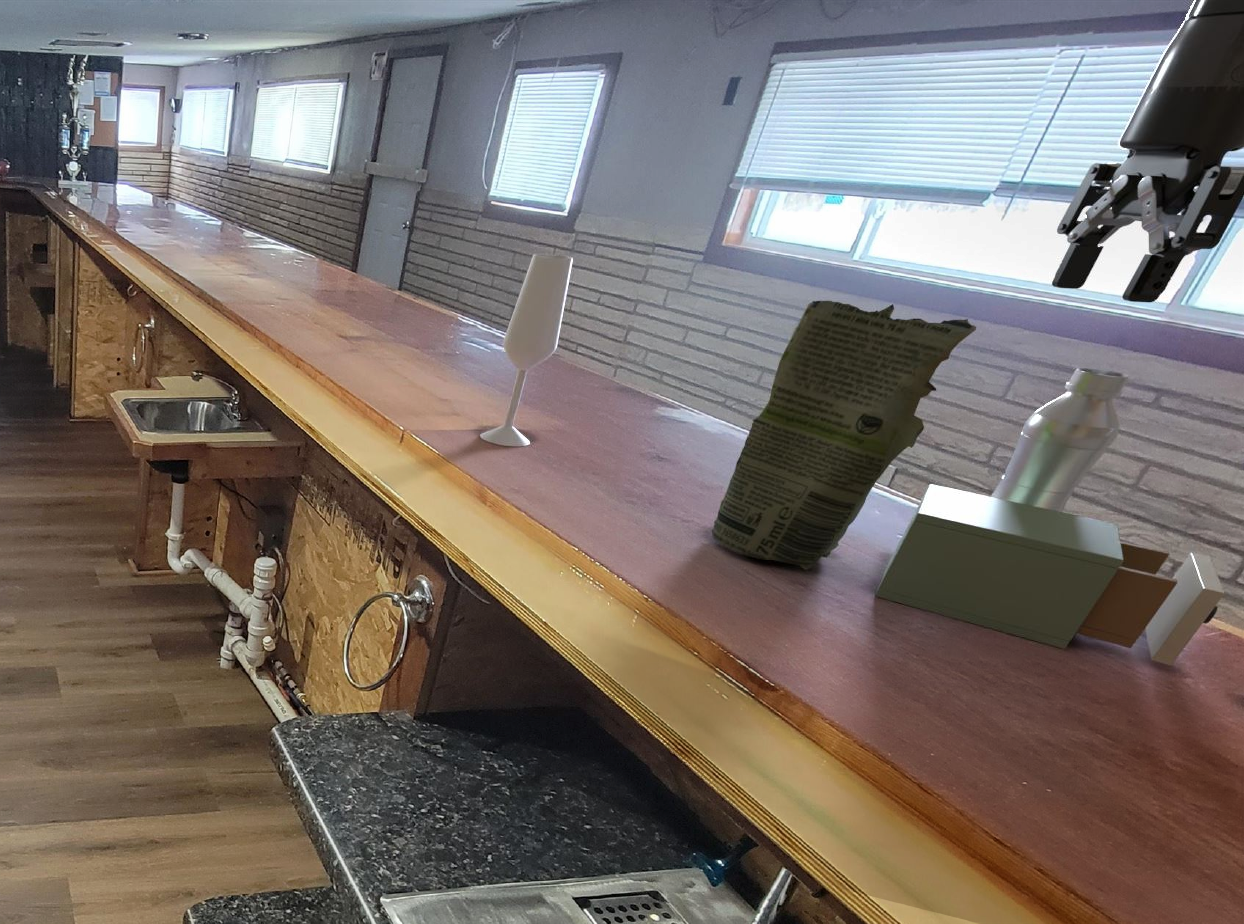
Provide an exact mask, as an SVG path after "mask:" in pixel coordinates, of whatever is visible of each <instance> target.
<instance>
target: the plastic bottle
mask: <svg viewBox="0 0 1244 924" xmlns="http://www.w3.org/2000/svg"><path fill="white" fill-rule="evenodd" d="M1129 378H1130V375H1128V374H1126V373H1122V372H1117V371H1112V370H1106V369H1099V368H1092V367H1091V368H1089V367H1077V368H1076V369H1075V370H1074V372H1073V374H1072V375H1071V377H1070V379H1069V381H1067V382H1066V384H1065V385H1064V389H1065V390H1066V391H1065V393H1064V394H1062V395H1061V396H1059V397H1057V398H1056V399H1053V400H1052V401H1050V402H1048V403H1046V404H1045V405H1044V406H1042V407H1040V408H1038V409H1037V410H1036V411H1035V412H1033V414H1031V416H1030V417H1028V419H1027V420H1026V421H1025V423H1024V425H1023V427H1022V432H1020V435H1019V438H1018V440H1017V443H1016V445H1015V448H1014V451H1013V454H1012V457H1011V459H1010V461H1009V463H1008V465H1007V466H1006V469H1005V471H1004V475H1002V477H1001V478H1000V481H999V483H998V484H997V486H996V488H995V489H994V491H993V492H992V493H991V495H990V496H989V497H993V498H998V499H1003V500H1007V501H1012V502H1017V503H1022V504H1026V505H1031V506H1036V507H1040V508H1045V509H1050V510H1054V511H1059V512H1064V508H1065V507H1066V505H1067V503H1068V501H1069V499H1070V498H1071V497H1072V495H1073V493H1074V492H1075V489H1077V488H1078V486H1079V485H1080V484H1081V482H1082V481H1083V480H1084V478H1085V477H1086V475H1087V474H1088V472H1089V471H1090V470H1091V469H1092V468H1093V467H1094V465H1096V463H1097V462H1098V461H1099V460H1100V459H1101V457H1102V456H1103V455H1104V454H1105V453H1106V452H1107V450H1108V449H1109V447H1110V446H1112V444H1113V442H1115V440H1116V439H1117V437H1118V436H1119V431H1120V422H1119V421H1120V420H1119V417H1118V414H1117V413H1118V412H1117V410H1116V408H1115V405H1114V400H1115V398H1118V397H1119V398H1120V397H1121V395H1122V394H1123V392H1124V390H1123V389H1124V387H1125V386H1126V384H1127V383H1128V381H1129Z"/></svg>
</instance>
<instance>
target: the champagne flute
mask: <svg viewBox="0 0 1244 924" xmlns="http://www.w3.org/2000/svg"><path fill="white" fill-rule="evenodd" d="M573 259H574V258H573V256H569V255H561V254H551V253H535V254H532V257H531V260H530V262H529V266H528V269H527V272H526V275H525V277H524V281H523V284H522V285H521V288H520V291H519V295H518V298H517V300H516V303H515V306H514V308H513V312H512V315H511V318H510V319H509V320H510V321H509V324H508V326H507V329H506V332H505V335H504V337H503V341H502V344H503V349H504V351H505V354H506V356H507V357H508V359H509V360H510V362H511V363H512V365H513V366H514V367H515V368H516V369H518V370H517V374H516V377H515V381H514V385H513V389H512V392H511V396H510V400H509V404H508V408H507V412H506V415H505V419H504V423H503V424H502V425H500V426H498V427H495V428H493V429H490V430H488V431H485V432H482V433H480V435H479V437H480V438H481V439H482V440H484V441H486V442H488V443H491V444H495V445H498V446H503V447H504V446H505V447H526V446H528V445H530V444H531V442H530V440H529V439H528V438H527V437H525V436H524V435H523V434H522V433H521V432H520V431H519V430H517V428H515V427H514V423H515V419H516V416H517V411H518V408H519V405H520V401H521V397H522V393H523V390H524V387H525V386H524V385H525V381H526V378H527V374H528V371H529V370H533V369H535V368H536V367H537V366H539V365H541V364H542V363H543V362H545V361H547V360H548V359H549V358H550V357H552V355H553V354H554V353H555V352H556V350H557V348H558V342H559V337H560V332H561V328H562V327H561V326H562V320H563V315H564V311H565V310H564V309H565V304H566V299H567V293H568V286H569V282H570V276H571V271H572V266H573V261H574V260H573Z"/></svg>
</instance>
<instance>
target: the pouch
mask: <svg viewBox="0 0 1244 924" xmlns="http://www.w3.org/2000/svg"><path fill="white" fill-rule="evenodd" d="M894 311H895V306H894V303H892V304H891V305H889V306H887V307H885V308H883V309H881V310H877V309H876V310H875V311H866V310H863V309H861V308H859V307H858V306H854V305H851V304H850V303H843V302H840V301H833V300H812V302H809V303H808V304H807V306H806V309H805V311H804V313H803V314H802V316H801V318H800V320H799V322H798V324H797V326H796V327H795V328H794V331H793V333H792V336H791V338H790V340H789V342H788V344H787V346H786V347H785V349H784V352H783V353H782V356H781V357H780V360H779V361H778V366H777V369H776V372H775V375H774V379H773V382H772V386H771V391H770V396H769V400H768V402H767V404H766V405H765V407H764V408H763V411H762V412H760V414H759V415H758V416H757V417H756V418H754V419H752V422H751V428H750V430H749V433H748V435H747V437H746V438H745V441H744V445H743V448H742V450H741V452H740V455H739V457H738V459H737V461H736V463H735V467H734V471H733V473H732V476H731V478H730V480H729V483H728V486H727V489H726V491H725V494H724V497H723V498H722V500H721V501H720V504H719V505H720V506H719V509H718V512H717V516H716V518H715V520H714V522H713V527H712V529H711V530H710V531H711V534H712V539H714V540H715V541H716V542H718V543H720V544H721V545H722V546H723V547H724V548H726V549H727V550H729V551H730V552H734V553H737V554H741V555H743V556H746V557H751V558H754V559H757V560H765V561H766V560H767V561H768V560H769V561H777V562H781V563H786V564H791V565H796V566H798V567H800V568H801V569H803V570H805V571H807V570H810V568H812V567H813V566H814V565H816V564H817V563H818V562H819V561H820V560H821V558H828V557H829V556H830V555H831V551H833V550H835V549H837V548H838V546H839V542H840V541H841V540H842V538H843V537H844V536H845V534H846V533H847V531H848V528H849V527H850V526H851V524H853V522H854V521H855V520H856V518H857V517H858V515H859V514H860V512H861V510H862V509H863V507H864V505H865V503H866V501H867V497H868V496H869V494H870V492H871V491H872V489H873V488H874V486H875V484H876V483H877V482H878V480H879V479H880V478H881V477H882V476H883V474H884V473H885V471H887V469H888V467H889V466H890V465H891V463H892V462H893V461H895V459H896V458H897V457H898V456H899V455H900V454H901V453H903V452H904V451H905V450H906V449H907V448H908V447H909V448H911V449H912V448H913V447H915V444H916V443H917V439H918V437H919V436H920V435H921V434H922V432H923V431H924V429H925V425H924V422H923V419H921V418H920V417H918V416H917V415H915V414H916V412H917V409H918V406H919V404H920V401H921V399H922V398H926V397H927V396H929V395H930V394H931V393H932V392H937V388H936V386H935V385H933V384H932V383H931V382H930V381H931V379H932V377H933V376H934V374H935V372H936V371H937V368H938V367H939V366H940V365H941V364H942V362H944V361H947V360H949V359H950V355H951V353H952V351H953V350H954V349H955V348H956V347H957V346H958V345H959V344H960V343H961V342H962V341H963V340H965V339H966V338H967V337H969V336H970V335H971V334H972V333H974V332H975V331H976V330H977V326H976V325H973V324H971V323H970V322H969V318H965V319H950V320H945V319H944V320H942V321H941V322H928V321H926V320H924V319H922V318H908V319H903V318H895V319H894V318H892V317H891V316H892V314H893V312H894Z"/></svg>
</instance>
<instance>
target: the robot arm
mask: <svg viewBox="0 0 1244 924" xmlns="http://www.w3.org/2000/svg"><path fill="white" fill-rule="evenodd" d="M1155 67H1156V68H1155V69H1154V72H1153V74H1152V75H1151V77H1150V80H1149V81H1148V83H1147V85H1146V87H1145V89H1144V91H1143V93H1142V95H1141V97H1140V99H1139V101H1138V103H1137V105H1136V106H1135V109H1134V111H1133V113H1132V115H1131V116H1130V119H1129V121H1128V123H1127V124H1126V127H1125V129H1124V131H1123V133H1122V134H1121V136H1120V138H1119V140H1118V148H1120V149H1122V150H1128V151H1129V152H1128V155H1127V156H1126V158H1125V159H1124V160H1123V161H1122V163H1119V162H1102V163H1101V162H1096V163H1094V164H1092V165H1091V166H1090V167H1089V168H1088V170H1087V172H1086V174H1085V175H1084V177H1083V179H1082V181H1081V183H1080V185H1079V187H1078V189H1077V191H1076V193H1075V194H1074V196H1073V198H1072V200H1071V202H1070V204H1069V206H1068V207H1067V209H1066V211H1065V213H1064V214H1063V216H1062V219H1061V220H1060V222H1059V224H1058V226H1057V229H1056V232H1057V234H1058V235H1065V236H1066V237H1067V238H1066V239H1067V240H1066V241H1067V243H1069V246H1068V248H1067V249H1066V252H1065V254H1064V256H1063V257H1062V260H1061V262H1060V264H1059V266H1058V268H1057V270H1056V272H1055V275H1054V278H1053V279H1052V282H1051V285H1052V287H1053V288H1059V289H1071V290H1073V289H1075V290H1076V289H1077V290H1078V289H1080V288H1082V287H1083V286H1084V285H1085V283H1086V282H1087V281H1088V277H1089V276H1090V274H1091V272H1092V270H1093V268H1094V266H1095V265H1096V263H1097V260H1098V259H1099V257H1100V256H1101V255H1100V254H1101V253H1102V251H1103V249H1104V246H1102V244H1104V243H1105V242H1106V241H1107V240H1108V239H1109V238H1110V237H1112V236H1113V235H1114V234H1115V233H1117V231H1119V230H1120V229H1121V228H1124V227H1127V226H1129V225H1131V224H1133V223H1135V222H1141V228H1142V230H1144V231H1145V232H1147V233H1148V253H1149V254H1147V253H1145V254H1144V255H1143V257H1142V259H1141V260H1140V263H1139V264H1138V266H1137V267H1136V270H1135V272H1134V274H1133V275H1132V277H1131V279H1130V281H1129V282H1128V284H1127V287H1126V288H1125V290H1124V292H1123V293H1122V299H1123V300H1124V301H1126V302H1132V303H1154V302H1155V301H1157V300H1158V299H1159V298H1160V296H1161V295H1162V293H1164V292H1165V290H1166V288H1167V286H1168V285H1169V283H1170V281H1171V280H1172V278H1173V277H1174V275H1175V273H1176V271H1177V269H1178V267H1179V266H1180V264H1181V262H1182V261H1183V259H1184V258H1185V256H1189V255H1191V254H1192V253H1193V252H1196V251H1200V250H1212V249H1215V248H1216V247H1217V246H1218V245H1219V243H1220V242H1221V240H1222V237H1223V236H1224V234H1225V232H1226V231H1227V229H1228V226H1229V225H1230V223H1231V221H1232V219H1233V218H1234V216H1235V214H1236V212H1237V210H1238V208H1239V207H1240V204H1241V202H1242V201H1243V198H1244V166H1232V165H1228V166H1227V165H1222V162H1223V161H1224V157H1225V155H1226V154H1228V153H1229V152H1237V151H1240V150H1242V149H1243V148H1244V0H1194V1H1193V3H1192V5H1191V6H1190V9H1189V10H1188V13H1187V14H1186V17H1185V20H1184V21H1183V23H1182V24H1181V26H1180V28H1179V29H1178V31H1177V33H1176V34H1175V35H1174V37H1173V38H1172V40H1171V41H1170V42H1169V44H1168V46H1167V48H1166V49H1165V50H1164V52H1163V54H1162V55H1161V57H1160V60H1159V61H1158V63H1157V65H1156V66H1155ZM1086 207H1089V208H1088V209H1087V210H1086V211H1085V213H1084V215H1085V218H1084V219H1083V220H1079V218H1080V216H1081V214H1082V213H1083V210H1085V208H1086ZM1206 216H1210V217H1211V219H1210V221H1209V222H1208V224H1207V226H1206V228H1205V230H1204V232H1198V229H1199V227H1200V226H1201V224H1202V223H1203V222H1204V218H1205V217H1206ZM1099 226H1101V227H1100V228H1099ZM1170 233H1173V234H1174V235H1173V236H1171V237H1170Z"/></svg>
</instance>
